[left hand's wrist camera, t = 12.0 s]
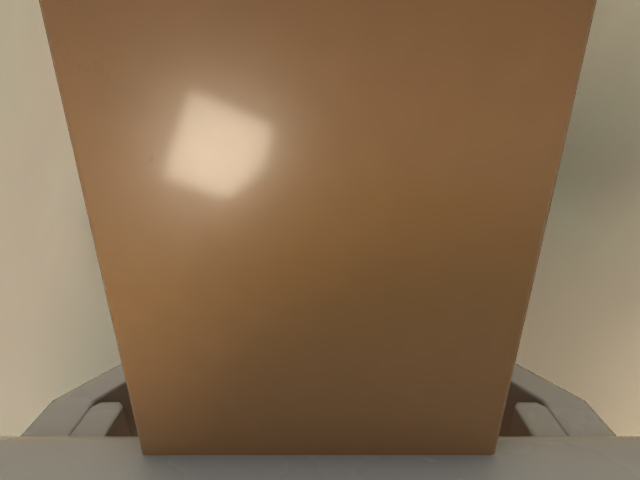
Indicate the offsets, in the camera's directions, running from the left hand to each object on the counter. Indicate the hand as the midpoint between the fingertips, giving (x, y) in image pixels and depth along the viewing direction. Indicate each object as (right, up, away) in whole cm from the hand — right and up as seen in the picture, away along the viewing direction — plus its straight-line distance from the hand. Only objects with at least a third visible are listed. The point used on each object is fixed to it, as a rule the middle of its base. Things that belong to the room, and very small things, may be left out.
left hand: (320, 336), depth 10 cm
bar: (0, +9, 0) cm, 9 cm away
